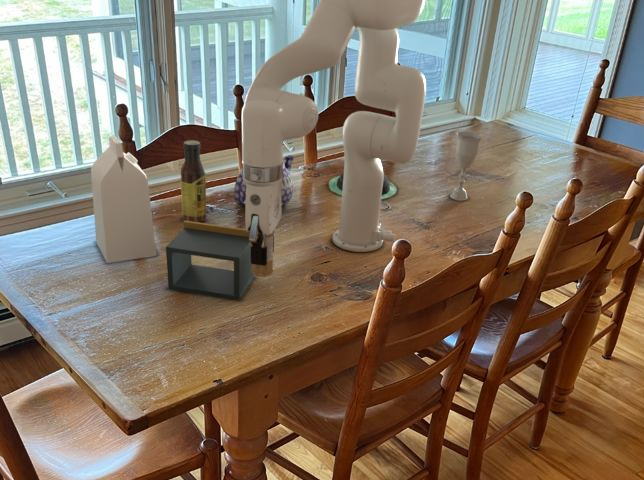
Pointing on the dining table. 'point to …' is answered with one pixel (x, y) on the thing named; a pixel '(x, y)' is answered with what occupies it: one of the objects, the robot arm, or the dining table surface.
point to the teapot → (285, 183)
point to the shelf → (212, 245)
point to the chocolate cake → (387, 188)
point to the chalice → (465, 158)
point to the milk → (121, 206)
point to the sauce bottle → (193, 184)
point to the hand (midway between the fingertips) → (262, 257)
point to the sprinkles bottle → (268, 268)
